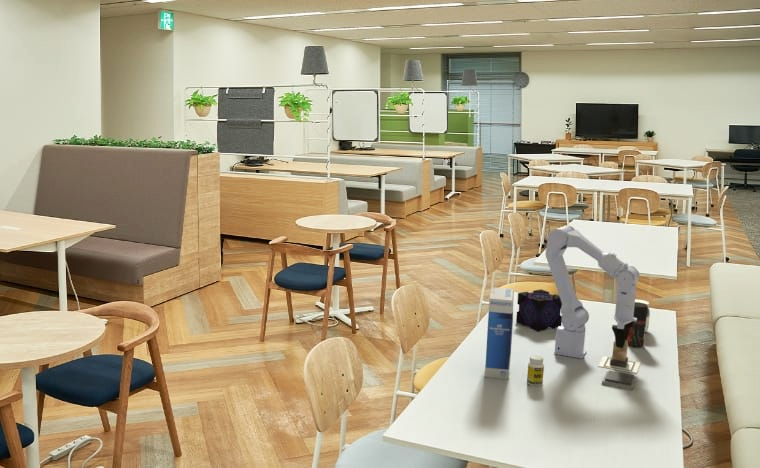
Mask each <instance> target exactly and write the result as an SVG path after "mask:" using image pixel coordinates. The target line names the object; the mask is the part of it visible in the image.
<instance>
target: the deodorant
mask: <svg viewBox="0 0 760 468" xmlns="http://www.w3.org/2000/svg"><path fill="white" fill-rule="evenodd" d="M647 307H648V305H647V304H644V303H640V302H635V306H634V315H633V317H634V318H637V321H636V322H635V321H634V323H633V324H632V326H631V328H630V331H629V334H628V338H627V340H628V347H631V348H635V349H636V348H637V349H638V348H643V347H645V337H646V336H645V335H646V334H645V327H646V317H647ZM648 308H649V307H648Z"/></svg>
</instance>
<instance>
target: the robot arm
mask: <svg viewBox="0 0 760 468" xmlns="http://www.w3.org/2000/svg"><path fill="white" fill-rule="evenodd" d="M545 239H546V248H545V258H546V260H547V264H548V267H549V270H550V272H551V274H552V275H551V276H552V278H553V281H554V284H555V287H556V289H557V293H558V295H559V296H560V299H561V302H562V307H561V311H560V315H561V316H562V322H561V326H558V328H556V333H555V341H554V342H555V344H554V355H560V356H565V357H571V358H577V359H583V358H584V356H585V355H586V353H587V349H585V341H586V340H585V339H586V324H587V323H588V321H589V319H590V313H589V312H588V310H587V309H586V308H585V307H584V305H583V302H582V301H581V300H580V299H578V298H577V297H578V296H577V295H576V291H575V288H574V285H573V282H572V279H571V276H570V274H569V271H568V267H567V265H566V262H565V258H564V254H565V251H566V250H567V248H578V249H579V250H581V251H582V252H584V253H585V254H586V255H588V256H590V257H591V258H593V259H594V260H595V261H597V265H598V267H599V268H600V269H602V270H603V271H604V272H606V273H608V274H609V276H611V277H613V278H614V279H615V282H616V283H617V291H616V301H615V311H614V312H615V313H614V316H613V319H614V320H615V322H616V323H617V324H612V326H611V330H612V332H613V334H614V340H615V342H616V347H619V348H623V347H624V344H625V340H627V338H628V334H629V331H630V328H631V326H632V324H633V323H634V321H635V322H636V321H637V318H634V317H633V315H634V306H635V299H636V294H637V292H636V291H637V283H638V281H639V280H640V272H639V271H638V268H636V267H635V266H633V265H629V264H628V263H627V262H624V261H622V260H620V259H619V258H618V257H617V254H615V253H611V252H604V251H603V250H601V249H600V248H599V247H597V246H596V245H595V244H594V243H593V242H591V241H590V240H589V239H588V238H587V237H585V236H584V235H583V234H582V233H581V232H580V231H579V230H578V229H575V228H574V227H573V226H571V225H569V224H568V225H563V226H561V227H558V228H554V229H552V230H551V231H550V232H549V234H548V235H547V236H546V238H545Z"/></svg>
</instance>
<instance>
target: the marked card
mask: <svg viewBox="0 0 760 468" xmlns="http://www.w3.org/2000/svg"><path fill="white" fill-rule="evenodd" d="M611 357H612V356H611ZM611 357H610V356H605V355H604V356H602V358H601V360H600V362H599V363H598V366H597V367H599V368H605V369H610V370H614V371H621V372H625V373H627V372H628V373H631V374H637V373H638V372H639V369H640V366H641V362H639V361H633V360H628V364H627V366H626V368H623V367H617V366H611V365H610V359H611Z"/></svg>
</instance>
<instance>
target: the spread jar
mask: <svg viewBox="0 0 760 468" xmlns="http://www.w3.org/2000/svg"><path fill="white" fill-rule="evenodd" d="M635 302H640V303H644V304H647V305H648V307H647V317H646V327H645V335H646V334H647V333H648V330H649V324H650V315H651V313H650V312H651V311H650V308H649V307H650V302H649V301H648V300H647V301H646V300H643V299H637V298H635Z"/></svg>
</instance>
